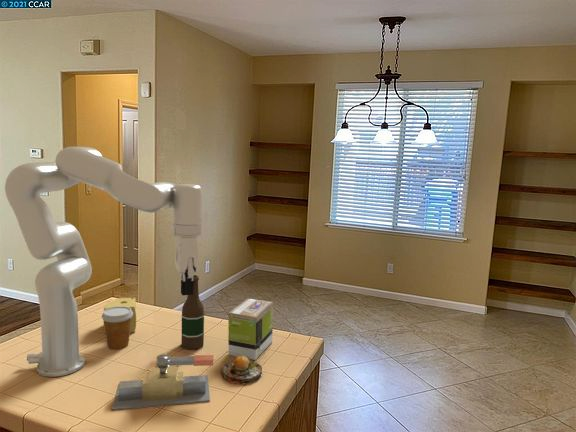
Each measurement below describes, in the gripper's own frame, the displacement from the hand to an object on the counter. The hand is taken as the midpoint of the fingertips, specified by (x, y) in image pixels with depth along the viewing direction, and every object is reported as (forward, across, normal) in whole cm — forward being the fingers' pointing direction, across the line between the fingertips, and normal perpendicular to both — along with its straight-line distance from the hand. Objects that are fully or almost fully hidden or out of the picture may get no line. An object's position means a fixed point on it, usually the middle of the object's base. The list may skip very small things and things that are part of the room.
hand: (187, 294), depth 120 cm
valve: (+25, +7, -7) cm, 27 cm away
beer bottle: (+25, -20, +6) cm, 33 cm away
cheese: (+25, -41, -16) cm, 51 cm away
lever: (+17, +8, -2) cm, 19 cm away
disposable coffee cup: (+25, -28, -18) cm, 41 cm away
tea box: (+25, -12, +24) cm, 37 cm away
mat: (+25, +5, -7) cm, 27 cm away
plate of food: (+26, +3, +16) cm, 30 cm away
